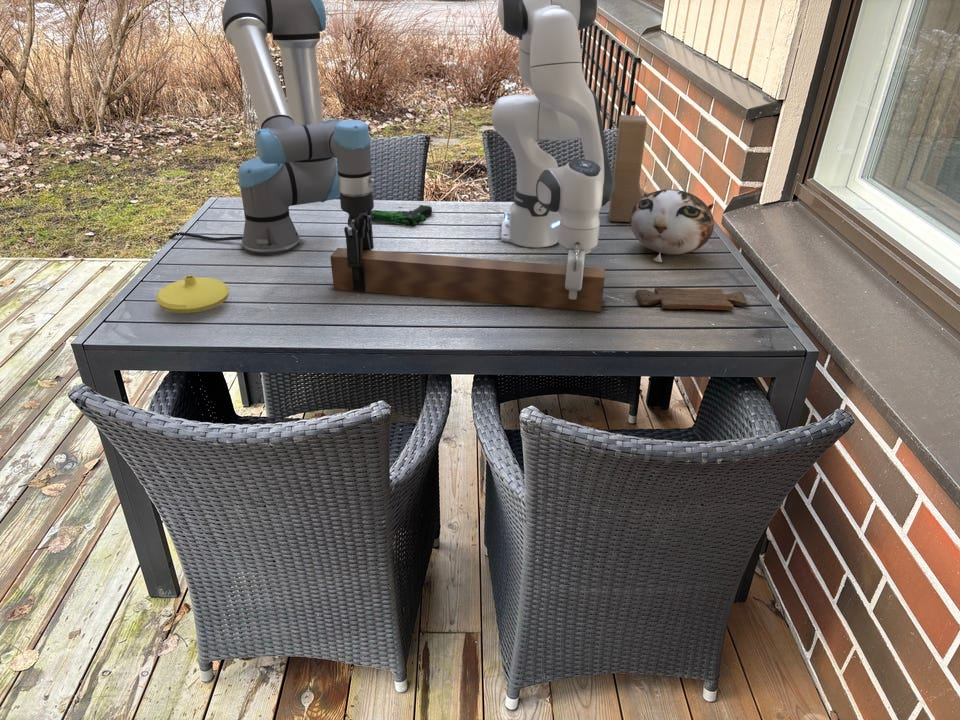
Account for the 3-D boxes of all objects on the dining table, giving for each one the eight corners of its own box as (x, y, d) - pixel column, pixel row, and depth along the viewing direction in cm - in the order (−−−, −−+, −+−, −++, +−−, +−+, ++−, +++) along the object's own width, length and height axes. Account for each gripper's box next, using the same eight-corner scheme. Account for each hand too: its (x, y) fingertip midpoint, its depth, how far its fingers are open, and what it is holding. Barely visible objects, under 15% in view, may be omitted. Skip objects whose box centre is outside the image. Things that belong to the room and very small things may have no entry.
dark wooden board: (752, 313, 165) (739, 295, 174) (753, 306, 165) (741, 288, 173) (640, 309, 166) (633, 291, 174) (641, 302, 165) (634, 284, 173)
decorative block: (659, 224, 215) (674, 122, 200) (609, 221, 217) (620, 119, 201) (657, 216, 221) (672, 116, 206) (608, 213, 223) (619, 114, 208)
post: (333, 289, 173) (330, 256, 169) (340, 280, 178) (337, 247, 173) (600, 312, 165) (604, 277, 160) (601, 301, 169) (604, 268, 165)
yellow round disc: (203, 285, 174) (198, 258, 170) (245, 302, 166) (240, 274, 162) (144, 308, 163) (137, 279, 159) (186, 328, 155) (179, 298, 151)
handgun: (437, 205, 219) (415, 219, 207) (438, 215, 220) (415, 229, 208) (391, 199, 224) (366, 212, 212) (391, 208, 226) (367, 222, 214)
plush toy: (610, 241, 188) (634, 172, 190) (626, 265, 204) (648, 200, 205) (693, 258, 178) (718, 184, 179) (703, 281, 193) (726, 213, 195)
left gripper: (359, 206, 154) (367, 303, 166) (383, 181, 170) (388, 271, 182) (326, 204, 155) (336, 300, 167) (353, 179, 171) (360, 269, 183)
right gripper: (591, 254, 150) (585, 312, 157) (593, 221, 167) (588, 275, 175) (561, 251, 151) (556, 310, 158) (566, 219, 168) (562, 273, 175)
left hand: (363, 285), depth 174 cm, fingers closed on post, 5 cm apart
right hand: (573, 291), depth 166 cm, fingers closed on post, 5 cm apart
